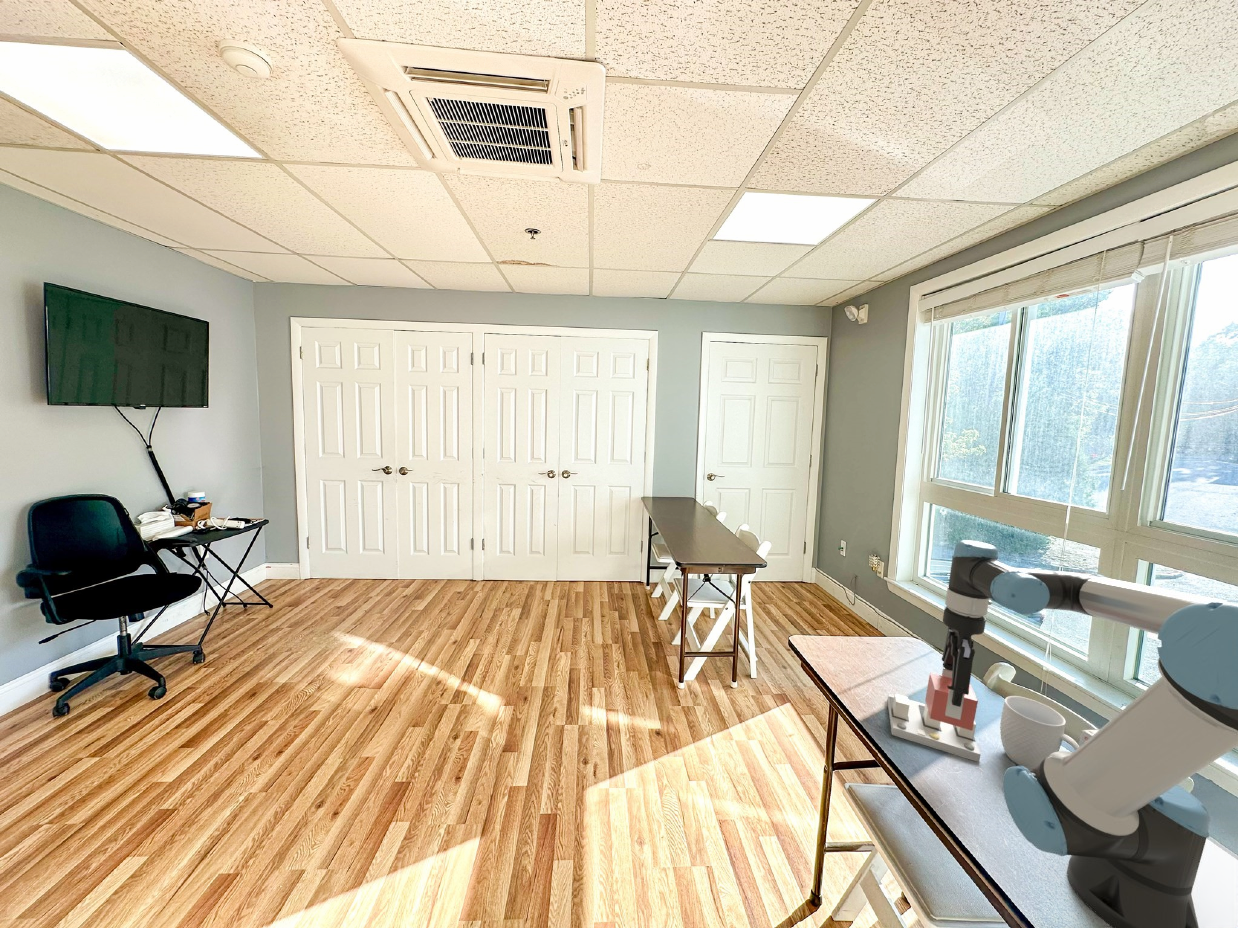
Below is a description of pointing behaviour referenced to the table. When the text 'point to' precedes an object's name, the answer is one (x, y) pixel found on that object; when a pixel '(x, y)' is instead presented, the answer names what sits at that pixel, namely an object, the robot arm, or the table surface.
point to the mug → (1031, 731)
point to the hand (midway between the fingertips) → (949, 706)
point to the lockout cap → (938, 702)
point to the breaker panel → (931, 732)
